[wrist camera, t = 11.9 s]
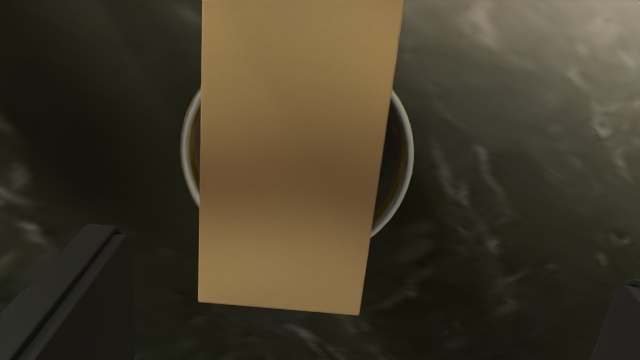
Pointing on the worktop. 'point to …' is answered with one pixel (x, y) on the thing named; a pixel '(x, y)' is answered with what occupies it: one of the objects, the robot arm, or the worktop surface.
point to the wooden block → (292, 148)
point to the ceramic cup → (391, 173)
